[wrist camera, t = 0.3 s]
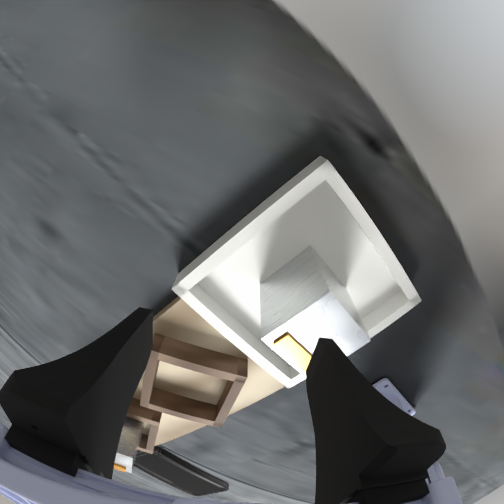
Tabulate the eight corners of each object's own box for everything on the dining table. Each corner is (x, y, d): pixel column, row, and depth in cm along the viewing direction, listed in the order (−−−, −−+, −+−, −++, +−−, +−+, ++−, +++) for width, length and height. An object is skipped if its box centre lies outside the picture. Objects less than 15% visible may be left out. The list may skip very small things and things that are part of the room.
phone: (154, 449, 31) (231, 489, 36) (156, 442, 32) (231, 484, 37) (120, 457, 33) (194, 496, 38) (121, 451, 34) (194, 491, 39)
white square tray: (410, 286, 22) (421, 300, 20) (286, 370, 26) (288, 388, 24) (320, 155, 19) (327, 159, 17) (178, 273, 22) (171, 289, 20)
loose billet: (345, 287, 22) (372, 342, 16) (297, 321, 23) (309, 382, 17) (310, 244, 20) (330, 293, 15) (259, 283, 22) (261, 341, 16)
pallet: (285, 377, 26) (287, 402, 23) (143, 444, 32) (139, 463, 29) (184, 290, 23) (176, 314, 20) (65, 390, 28) (55, 409, 26)
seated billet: (146, 410, 27) (132, 459, 22) (143, 430, 29) (131, 475, 23) (106, 396, 27) (87, 443, 21) (106, 417, 28) (90, 460, 23)
